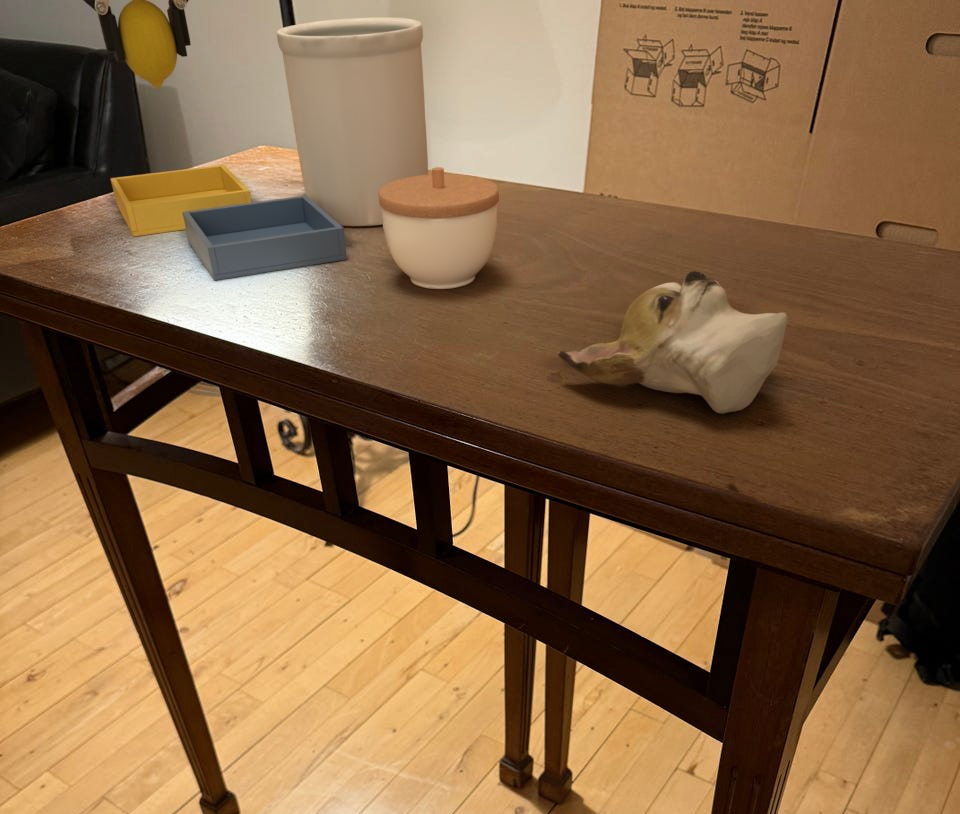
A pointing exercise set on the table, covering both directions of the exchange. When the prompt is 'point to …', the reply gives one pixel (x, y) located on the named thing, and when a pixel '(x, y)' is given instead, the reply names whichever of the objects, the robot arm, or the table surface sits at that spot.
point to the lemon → (147, 41)
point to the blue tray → (264, 236)
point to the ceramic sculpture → (688, 345)
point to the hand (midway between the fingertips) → (150, 55)
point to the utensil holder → (356, 110)
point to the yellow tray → (175, 196)
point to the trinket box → (440, 226)
